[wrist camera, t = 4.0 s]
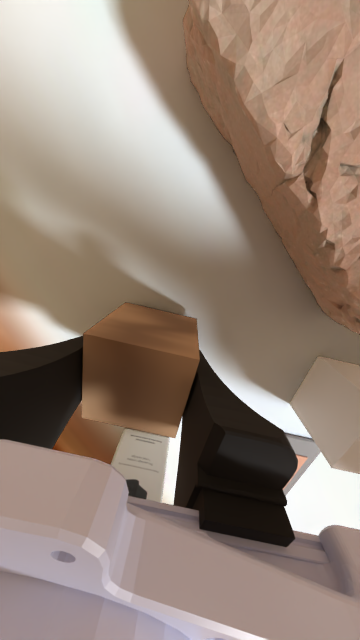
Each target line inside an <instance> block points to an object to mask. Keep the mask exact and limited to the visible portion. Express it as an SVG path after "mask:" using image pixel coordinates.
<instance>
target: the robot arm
mask: <svg viewBox="0 0 360 640" xmlns="http://www.w3.org/2000/svg"><path fill="white" fill-rule="evenodd" d="M199 356H200V361H199V364H198V367H197V370H196V374H195V377H194V380H193V383H192V386H191V389H190V393H189V396H188V399H187V402H186V405H185V408H184V412H183V415H182V432H181V443H180V453H179V463H178V472H177V481H176V489H175V498H174V505H170V504H165V503H160V502H155V501H151V500H146V499H141V498H136V497H132V496H128V493H129V491H128V487H127V483H126V480H125V478H124V476H123V475H122V474H121V473H120V472H119V471H118V470H117V469H116V468H114V467H113V466H112V465H110V464H107V463H105V462H102V461H100V460H97V459H95V458H90V457H85V456H80V455H76V454H71V453H66V452H62V451H57V450H52V448H53V446H54V445H55V443H56V441H57V439H58V438H59V436H60V434H61V433H62V431H63V429H64V428H65V426H66V424H67V423H68V421H69V419H70V418H71V416H72V415H73V413H74V411H75V410H76V408H77V407H78V405H79V403H80V402H81V401H82V377H83V336H80V337H77V338H74V339H70V340H67V341H64V342H60V343H56V344H51V345H47V346H42V347H36V348H30V349H23V350H17V351H8V352H0V640H360V530H358V529H354V528H349V527H344V526H339V525H331V526H327V527H325V528H324V529H323V530H322V531H321V532H320V534H319V536H317V535H313V534H308V533H303V532H298V531H294V530H292V527H291V524H290V522H289V519H288V516H287V513H286V511H285V508H284V506H286V505H287V500H286V497H285V495H284V492H283V488H284V487H285V486H286V484H287V483H288V482H289V480H290V479H291V478H292V477H293V475H294V473H295V472H296V470H297V467H298V459H297V456H296V454H295V452H294V450H293V448H292V446H291V444H290V442H289V440H288V438H287V437H286V435H285V433H284V431H283V430H281V429H280V428H278V427H277V426H275V425H274V424H272V423H271V422H269V421H268V420H266V419H265V418H263V417H262V416H260V415H259V414H258V413H256V412H255V411H254V410H252V409H251V408H250V407H248V406H247V405H246V404H245V403H244V402H242V401H241V400H240V399H239V398H238V397H237V396H236V395H235V394H234V393H233V392H232V391H231V390H230V389H229V388H228V387H227V386H226V385H225V384H224V383H223V382H222V381H221V380H220V378H219V377H218V376H217V375H216V373H215V372H214V371H213V369H212V368H211V367H210V365H209V364H208V362H207V360H206V359H205V357H204V356H203V354H202V352H201V351H200V350H199Z"/></svg>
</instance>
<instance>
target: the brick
mask: <svg viewBox="0 0 360 640" xmlns="http://www.w3.org/2000/svg"><path fill="white" fill-rule="evenodd" d="M188 1H189V6H188V9H187V11H186V14H185V16H184V18H183V27H184V36H185V44H186V51H187V52H186V60H187V69H188V71H189V73H190V78H191V83H192V84H193V85H194V87H195V88H196V90H197V92H198V94H199V96H200V99H201V102H202V105H203V106H204V108H205V110H206V111H207V113H208V114H209V116H210V118H211V119H212V121H213V122H214V124H215V126H216V127H217V129H218V130H219V132H220V133H221V135H222V136H223V137H224V139H225V140H226V141H227V142H229V143H230V144H231V145H232V146H233V148H234V152H235V154H236V156H237V159H238V162H239V164H240V167H241V170H242V172H243V174H244V176H245V179H246V181H247V182H248V183H249V184H250V185H251V187H252V189H253V190H254V191H255V192H256V193H257V194H258V196H259V198H260V201H261V204H262V207H263V210H264V212H265V214H266V215H267V216H268V218H269V219H270V221H271V223H272V225H273V227H274V229H275V231H276V232H277V233H278V234H279V236H280V237H281V238H282V243H283V245H284V247H285V248H286V250H287V252H288V254H289V256H290V258H291V259H293V262H294V264H295V266H296V268H297V269H298V271H299V272H300V274H301V276H302V278H303V280H304V282H305V283H306V284H307V285H308V287H309V288H310V290H311V292H312V293H313V295H314V296H315V298H316V301H317V304H318V305H319V306H320V307H321V309H322V311H323V312H324V313H325V314H326V315H328V316H329V317H330V318H331V319H333V320H334V321H336V322H337V323H339V324H341V325H344V326H345V327H347V328H348V329H350V330H351V331H352V332H357V333H358V334H359V335H360V0H188Z"/></svg>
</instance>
